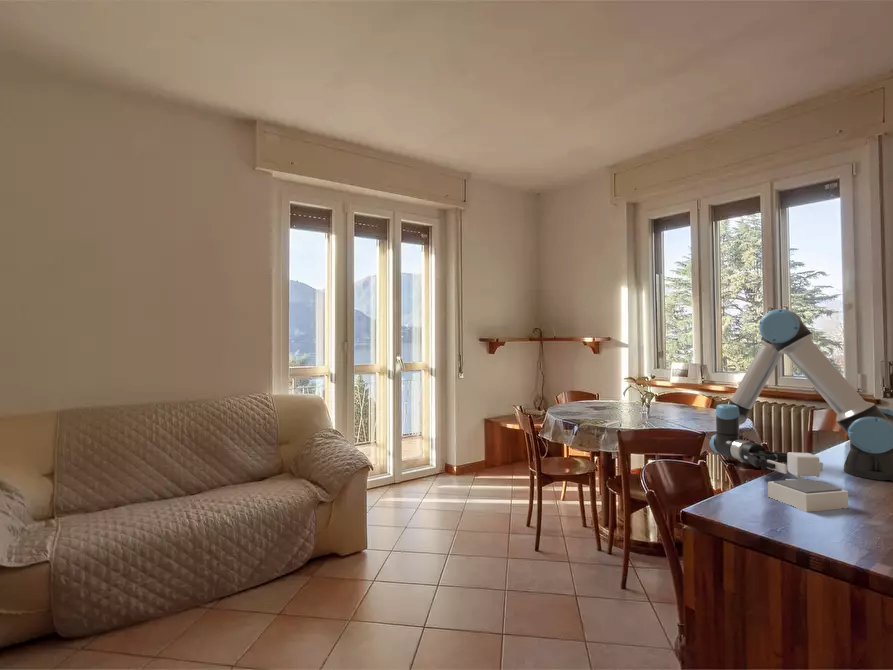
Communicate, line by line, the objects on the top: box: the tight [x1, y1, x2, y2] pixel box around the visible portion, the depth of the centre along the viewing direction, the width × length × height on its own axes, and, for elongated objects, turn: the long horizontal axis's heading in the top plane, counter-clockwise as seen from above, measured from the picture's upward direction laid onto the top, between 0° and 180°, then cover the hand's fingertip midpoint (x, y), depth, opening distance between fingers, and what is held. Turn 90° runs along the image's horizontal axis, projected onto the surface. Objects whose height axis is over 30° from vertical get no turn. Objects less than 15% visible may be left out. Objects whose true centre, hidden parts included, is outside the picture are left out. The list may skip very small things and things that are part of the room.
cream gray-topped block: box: [767, 478, 849, 513], centre depth 135 cm, size 14×12×5 cm
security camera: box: [785, 451, 821, 480], centre depth 150 cm, size 6×7×10 cm
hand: (804, 468), depth 149 cm, fingers open, 13 cm apart
